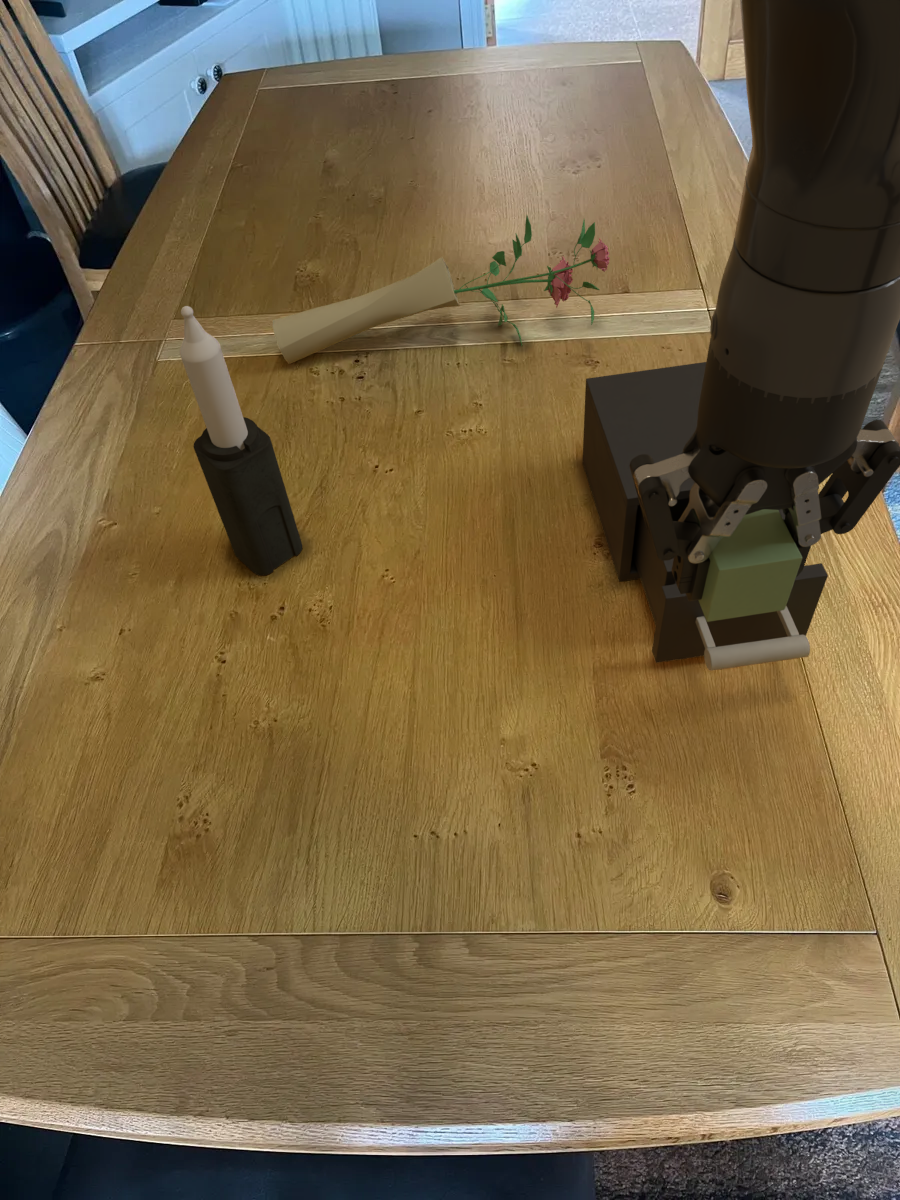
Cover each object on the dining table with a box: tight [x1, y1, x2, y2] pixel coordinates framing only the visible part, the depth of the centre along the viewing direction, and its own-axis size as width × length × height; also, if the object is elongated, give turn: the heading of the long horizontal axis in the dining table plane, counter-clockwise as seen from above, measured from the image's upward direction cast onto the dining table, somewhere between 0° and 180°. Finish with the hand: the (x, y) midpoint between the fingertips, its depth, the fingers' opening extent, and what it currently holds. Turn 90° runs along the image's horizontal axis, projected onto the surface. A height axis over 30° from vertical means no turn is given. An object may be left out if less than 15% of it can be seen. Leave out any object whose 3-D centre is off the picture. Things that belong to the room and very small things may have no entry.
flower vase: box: [272, 214, 611, 365], centre depth 98 cm, size 12×12×35 cm
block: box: [698, 509, 802, 622], centre depth 53 cm, size 5×5×5 cm
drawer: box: [632, 498, 829, 672], centre depth 72 cm, size 18×12×8 cm, turn 7°
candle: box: [179, 305, 303, 577], centre depth 74 cm, size 5×5×25 cm
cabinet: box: [581, 361, 783, 582], centre depth 79 cm, size 15×13×10 cm
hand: (734, 581), depth 55 cm, fingers closed on block, 4 cm apart
